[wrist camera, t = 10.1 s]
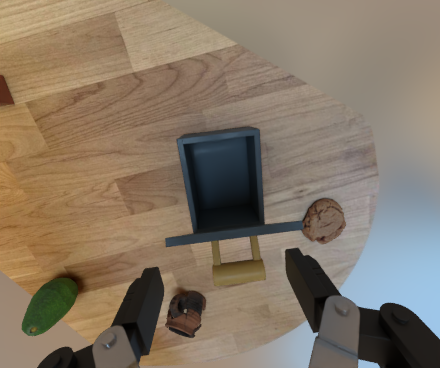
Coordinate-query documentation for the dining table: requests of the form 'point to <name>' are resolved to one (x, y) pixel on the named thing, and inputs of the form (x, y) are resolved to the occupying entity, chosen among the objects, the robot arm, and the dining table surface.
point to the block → (4, 93)
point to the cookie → (324, 221)
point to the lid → (239, 269)
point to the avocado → (49, 305)
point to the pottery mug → (185, 314)
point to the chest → (223, 178)
